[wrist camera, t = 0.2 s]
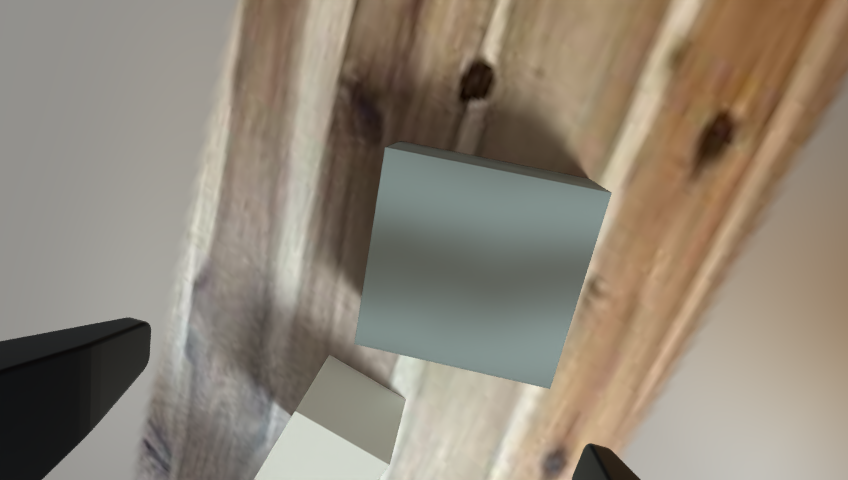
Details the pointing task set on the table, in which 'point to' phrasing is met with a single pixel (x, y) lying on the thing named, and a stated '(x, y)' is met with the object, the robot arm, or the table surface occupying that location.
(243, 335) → the table surface
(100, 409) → the robot arm
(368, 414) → the cream block
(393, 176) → the slate block
